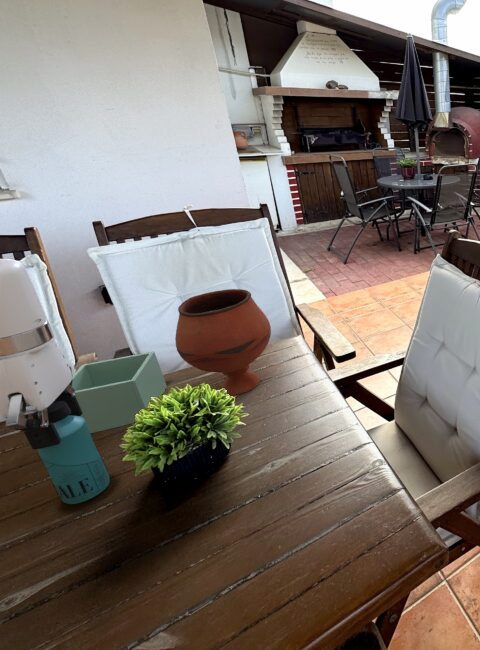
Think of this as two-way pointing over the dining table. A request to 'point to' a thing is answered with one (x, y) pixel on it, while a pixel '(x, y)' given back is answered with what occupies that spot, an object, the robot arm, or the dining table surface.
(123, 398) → the bin
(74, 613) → the dining table surface
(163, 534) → the dining table surface
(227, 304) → the goblet
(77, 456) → the beverage bottle
